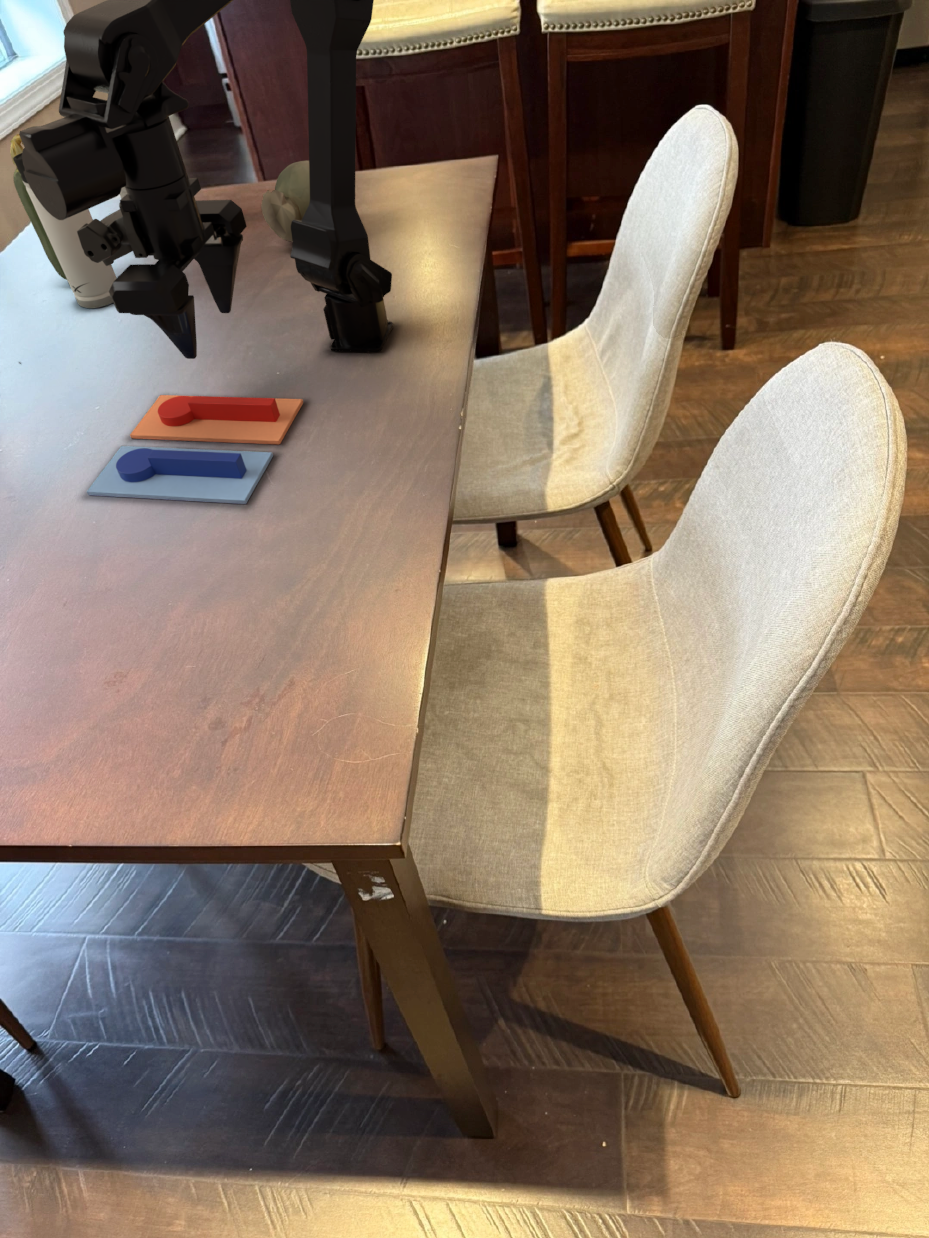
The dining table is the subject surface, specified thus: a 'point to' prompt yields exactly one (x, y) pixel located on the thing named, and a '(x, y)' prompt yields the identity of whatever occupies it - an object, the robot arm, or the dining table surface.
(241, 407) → the red spoon
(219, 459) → the blue spoon
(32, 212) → the vegetable
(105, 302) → the travel mug
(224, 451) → the blue mat
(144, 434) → the terracotta mat
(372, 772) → the dining table surface
